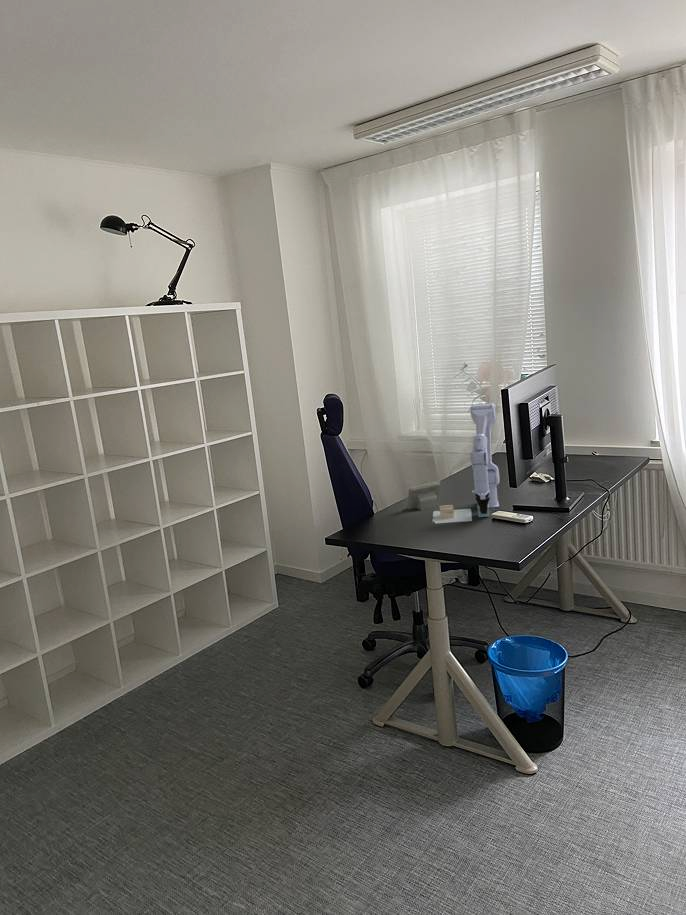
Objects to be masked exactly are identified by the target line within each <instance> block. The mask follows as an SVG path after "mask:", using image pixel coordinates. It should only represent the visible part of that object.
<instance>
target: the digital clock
mask: <svg viewBox="0 0 686 915" xmlns="http://www.w3.org/2000/svg"><path fill="white" fill-rule="evenodd" d="M440 491H441V483H440V481H433V482H430V483H425V484H422V485H417V486H412V487H410V488H409V490H408V496H407V504H406V505H407V506H406V507H407V510H414V509H417V508H418V509H417V510H420V509H421V510H420V511H423V510H422V509H424V510H427V508H428V509H432V508H435V507H438V506H439V499H440V493H441V492H440ZM413 508H414V509H413Z"/></svg>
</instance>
